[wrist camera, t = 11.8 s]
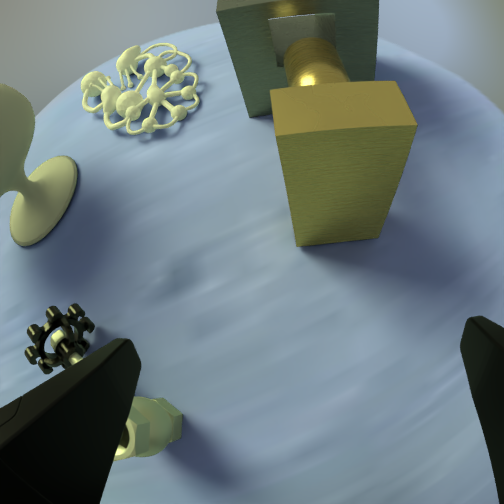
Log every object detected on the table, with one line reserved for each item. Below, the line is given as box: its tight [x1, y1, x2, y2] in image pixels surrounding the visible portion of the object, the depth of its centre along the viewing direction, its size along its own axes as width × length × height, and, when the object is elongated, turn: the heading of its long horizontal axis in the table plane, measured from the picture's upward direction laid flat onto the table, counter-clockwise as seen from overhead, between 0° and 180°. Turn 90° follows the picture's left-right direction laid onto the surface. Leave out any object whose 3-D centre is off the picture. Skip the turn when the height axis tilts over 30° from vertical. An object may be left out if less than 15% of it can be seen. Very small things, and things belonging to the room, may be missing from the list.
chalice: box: [0, 84, 78, 246], centre depth 24 cm, size 14×14×15 cm
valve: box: [25, 303, 183, 461], centre depth 19 cm, size 7×7×12 cm
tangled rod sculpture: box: [81, 43, 199, 135], centre depth 33 cm, size 19×14×4 cm
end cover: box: [270, 37, 418, 247], centre depth 19 cm, size 11×6×12 cm, turn 2°
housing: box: [216, 0, 379, 118], centre depth 24 cm, size 10×12×12 cm
